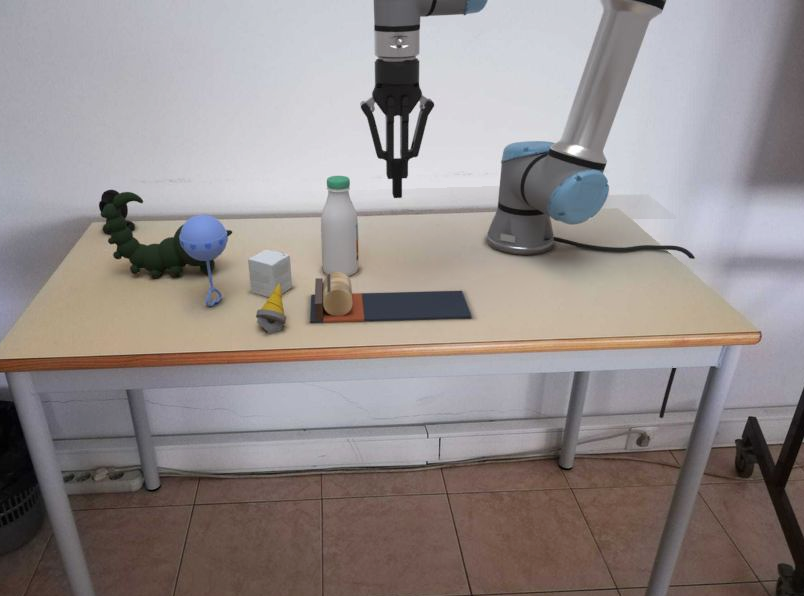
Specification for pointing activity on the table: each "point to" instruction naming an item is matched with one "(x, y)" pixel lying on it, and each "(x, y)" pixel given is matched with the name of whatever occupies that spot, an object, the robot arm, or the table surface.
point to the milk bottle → (339, 229)
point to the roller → (337, 294)
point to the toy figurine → (142, 255)
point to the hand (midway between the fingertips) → (397, 195)
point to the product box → (269, 272)
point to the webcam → (108, 199)
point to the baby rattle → (204, 243)
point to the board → (393, 306)
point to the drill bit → (272, 312)
